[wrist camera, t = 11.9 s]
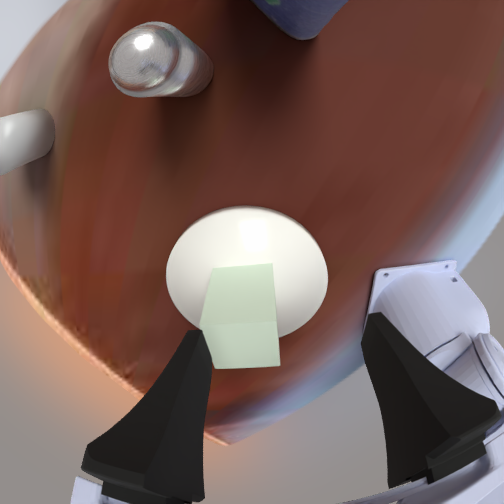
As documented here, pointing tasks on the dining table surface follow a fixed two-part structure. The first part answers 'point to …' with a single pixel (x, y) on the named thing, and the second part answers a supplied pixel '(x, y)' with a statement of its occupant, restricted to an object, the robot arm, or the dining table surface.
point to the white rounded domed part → (25, 138)
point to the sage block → (241, 317)
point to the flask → (299, 15)
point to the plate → (249, 261)
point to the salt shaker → (159, 63)
